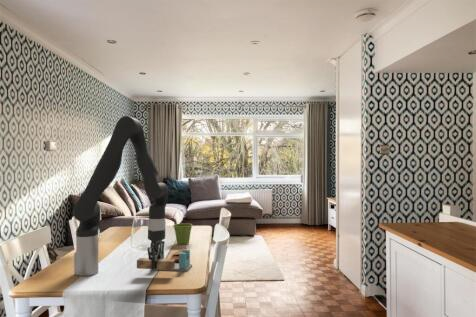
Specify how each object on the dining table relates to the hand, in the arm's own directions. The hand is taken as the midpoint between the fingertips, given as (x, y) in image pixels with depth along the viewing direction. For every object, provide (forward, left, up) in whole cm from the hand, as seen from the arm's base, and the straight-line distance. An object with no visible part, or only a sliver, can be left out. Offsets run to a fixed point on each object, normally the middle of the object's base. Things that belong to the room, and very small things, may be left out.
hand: (155, 267), depth 159 cm
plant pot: (-7, +60, -4) cm, 61 cm away
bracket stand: (+3, +12, -4) cm, 13 cm away
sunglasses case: (+1, +27, -5) cm, 28 cm away
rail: (0, 0, 0) cm, 0 cm away
